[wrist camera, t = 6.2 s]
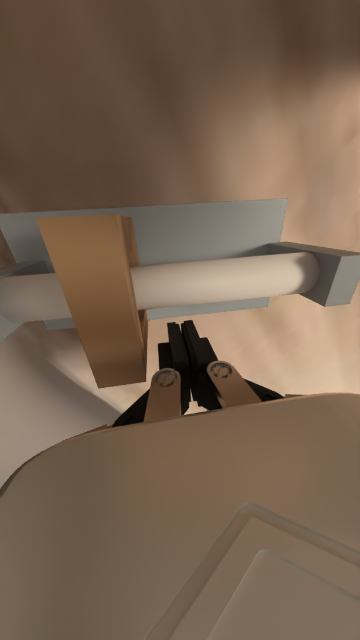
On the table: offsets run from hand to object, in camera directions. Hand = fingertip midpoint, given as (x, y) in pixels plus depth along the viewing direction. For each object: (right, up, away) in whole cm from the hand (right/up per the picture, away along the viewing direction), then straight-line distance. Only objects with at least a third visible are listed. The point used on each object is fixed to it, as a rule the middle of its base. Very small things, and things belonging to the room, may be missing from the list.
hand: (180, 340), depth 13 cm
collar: (-4, +5, +2) cm, 6 cm away
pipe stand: (-1, +6, +4) cm, 7 cm away
